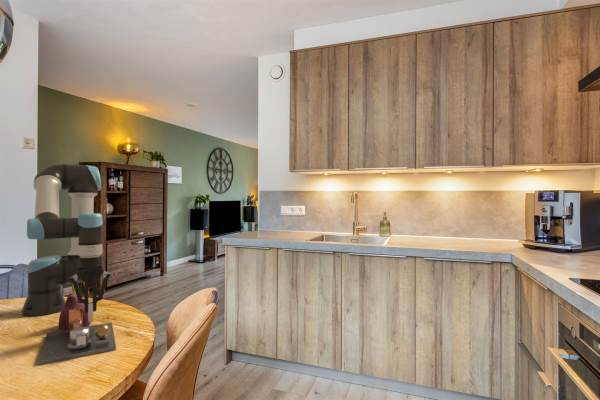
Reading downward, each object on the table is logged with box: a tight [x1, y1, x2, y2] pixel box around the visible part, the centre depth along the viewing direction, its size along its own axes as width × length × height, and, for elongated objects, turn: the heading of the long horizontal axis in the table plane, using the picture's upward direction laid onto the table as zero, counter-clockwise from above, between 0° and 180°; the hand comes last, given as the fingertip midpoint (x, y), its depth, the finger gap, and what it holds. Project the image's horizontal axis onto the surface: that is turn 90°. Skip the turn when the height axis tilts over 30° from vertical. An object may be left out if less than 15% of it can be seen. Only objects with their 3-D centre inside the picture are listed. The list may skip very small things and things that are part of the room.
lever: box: [69, 307, 89, 346], centre depth 113 cm, size 22×5×7 cm, turn 38°
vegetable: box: [57, 292, 92, 331], centre depth 129 cm, size 10×10×15 cm
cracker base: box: [37, 322, 117, 366], centre depth 115 cm, size 25×20×7 cm
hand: (90, 320), depth 123 cm, fingers closed
